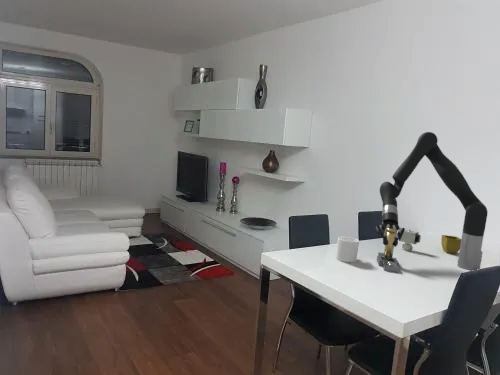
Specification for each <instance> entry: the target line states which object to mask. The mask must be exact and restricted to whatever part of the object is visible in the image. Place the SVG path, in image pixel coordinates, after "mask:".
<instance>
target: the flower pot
mask: <svg viewBox="0 0 500 375" xmlns="http://www.w3.org/2000/svg"><path fill="white" fill-rule="evenodd" d="M461 239H462V238H460V237H458V236H455V235H454V236H453V235H447V234H446V235H445V234H441V248H442V250H443V251H444V252H445V253H447V254H453V255H456V254H458V253H459V251H460V245H461Z"/></svg>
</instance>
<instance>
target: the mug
mask: <svg viewBox="0 0 500 375" xmlns="http://www.w3.org/2000/svg"><path fill="white" fill-rule="evenodd" d="M359 243H360V240H359V239H357V238H355V237H350V236H338V238H337V242H336V253H335V259H336V260H337V259H338V260H337V261H339V260H340V261H339V262H342V261H343V262H342V263H347V262H351V263H350V264H354V263H356V262H357V260H358V251H359ZM353 262H354V263H353Z"/></svg>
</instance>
